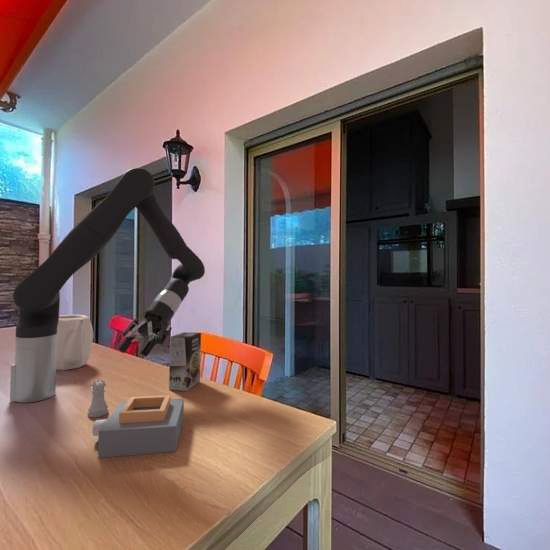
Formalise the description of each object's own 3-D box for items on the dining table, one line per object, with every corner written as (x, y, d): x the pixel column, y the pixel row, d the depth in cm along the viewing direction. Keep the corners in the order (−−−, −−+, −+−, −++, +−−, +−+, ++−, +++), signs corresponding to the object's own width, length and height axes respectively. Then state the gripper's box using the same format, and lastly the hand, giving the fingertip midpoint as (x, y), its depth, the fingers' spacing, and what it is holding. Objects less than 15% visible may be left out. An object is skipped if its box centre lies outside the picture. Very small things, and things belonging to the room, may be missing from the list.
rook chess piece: (86, 419, 74) (87, 385, 74) (88, 412, 78) (88, 380, 78) (108, 416, 76) (108, 383, 76) (108, 409, 80) (109, 377, 80)
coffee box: (187, 391, 93) (188, 337, 93) (168, 389, 95) (169, 336, 95) (201, 381, 102) (202, 332, 102) (182, 380, 103) (183, 331, 104)
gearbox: (80, 459, 58) (81, 421, 58) (106, 424, 72) (107, 393, 72) (175, 451, 61) (176, 415, 61) (183, 419, 75) (184, 390, 75)
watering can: (53, 381, 101) (55, 322, 101) (33, 364, 118) (34, 314, 118) (105, 370, 112) (106, 318, 112) (80, 357, 130) (81, 311, 130)
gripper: (140, 298, 97) (105, 342, 87) (175, 300, 91) (142, 348, 80) (153, 314, 102) (121, 357, 91) (187, 317, 96) (157, 363, 85)
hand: (131, 353), depth 86 cm, fingers open, 8 cm apart
